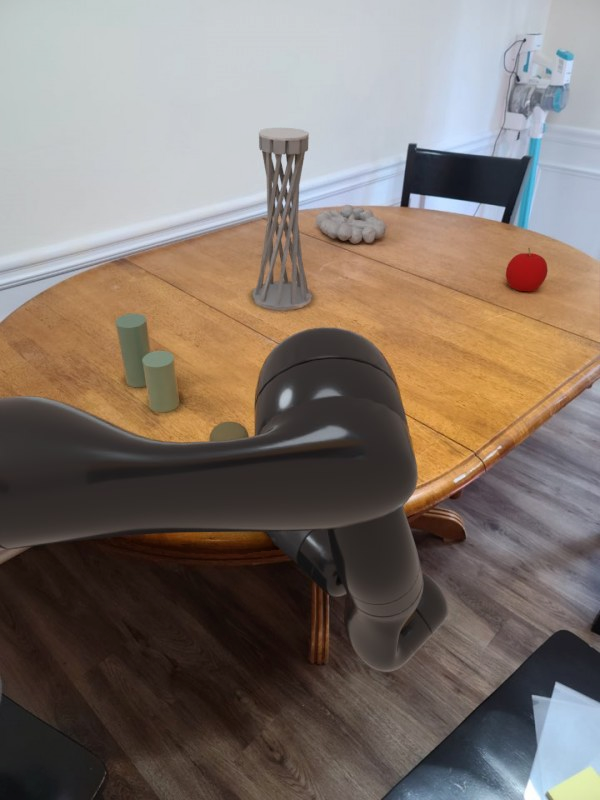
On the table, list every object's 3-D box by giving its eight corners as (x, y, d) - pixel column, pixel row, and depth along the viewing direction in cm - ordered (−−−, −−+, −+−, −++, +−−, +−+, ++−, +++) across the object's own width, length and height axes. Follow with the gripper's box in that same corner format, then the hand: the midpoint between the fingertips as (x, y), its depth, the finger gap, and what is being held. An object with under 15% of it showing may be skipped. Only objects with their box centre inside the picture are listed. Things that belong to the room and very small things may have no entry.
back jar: (134, 390, 99) (123, 330, 92) (121, 378, 102) (110, 318, 95) (159, 381, 101) (151, 321, 94) (147, 369, 104) (138, 310, 97)
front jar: (158, 416, 93) (151, 370, 88) (144, 401, 96) (136, 356, 91) (184, 405, 96) (179, 360, 90) (170, 391, 99) (164, 347, 93)
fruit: (531, 280, 142) (542, 241, 136) (548, 295, 135) (560, 255, 129) (496, 280, 141) (506, 242, 135) (511, 296, 134) (522, 256, 128)
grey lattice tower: (315, 309, 126) (324, 140, 105) (255, 312, 124) (252, 140, 103) (305, 283, 136) (311, 125, 116) (250, 285, 135) (246, 125, 114)
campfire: (401, 234, 166) (404, 214, 163) (358, 253, 153) (360, 232, 150) (343, 216, 178) (344, 197, 174) (298, 232, 165) (299, 212, 161)
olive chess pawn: (251, 505, 77) (249, 445, 71) (207, 504, 77) (201, 443, 71) (255, 475, 82) (253, 415, 76) (214, 473, 82) (208, 414, 76)
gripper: (342, 471, 69) (261, 404, 79) (245, 525, 61) (169, 443, 72) (338, 513, 73) (261, 444, 84) (247, 569, 66) (175, 485, 76)
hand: (219, 444), depth 78 cm, fingers open, 4 cm apart
